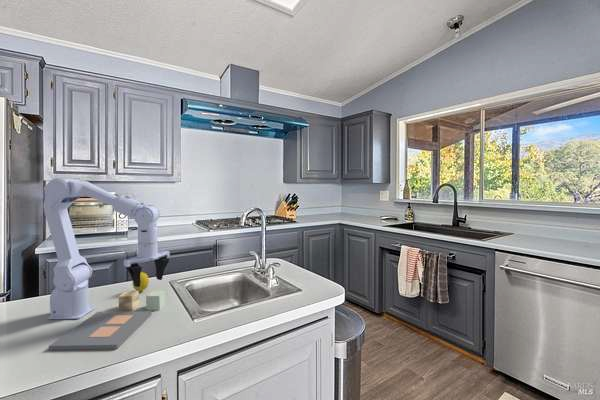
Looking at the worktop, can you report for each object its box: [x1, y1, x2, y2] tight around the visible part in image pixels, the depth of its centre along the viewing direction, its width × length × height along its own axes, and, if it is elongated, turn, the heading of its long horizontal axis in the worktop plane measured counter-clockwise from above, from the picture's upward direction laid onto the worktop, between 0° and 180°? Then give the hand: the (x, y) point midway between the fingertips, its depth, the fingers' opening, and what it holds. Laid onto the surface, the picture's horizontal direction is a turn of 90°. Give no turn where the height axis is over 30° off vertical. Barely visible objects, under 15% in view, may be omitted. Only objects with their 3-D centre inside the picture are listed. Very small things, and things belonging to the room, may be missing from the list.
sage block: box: [145, 290, 166, 311], centre depth 99 cm, size 4×4×5 cm
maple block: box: [118, 290, 140, 312], centre depth 98 cm, size 4×4×5 cm
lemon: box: [132, 271, 150, 293], centre depth 112 cm, size 6×6×8 cm
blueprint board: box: [48, 310, 152, 351], centre depth 83 cm, size 17×19×1 cm
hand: (148, 282), depth 95 cm, fingers open, 7 cm apart
